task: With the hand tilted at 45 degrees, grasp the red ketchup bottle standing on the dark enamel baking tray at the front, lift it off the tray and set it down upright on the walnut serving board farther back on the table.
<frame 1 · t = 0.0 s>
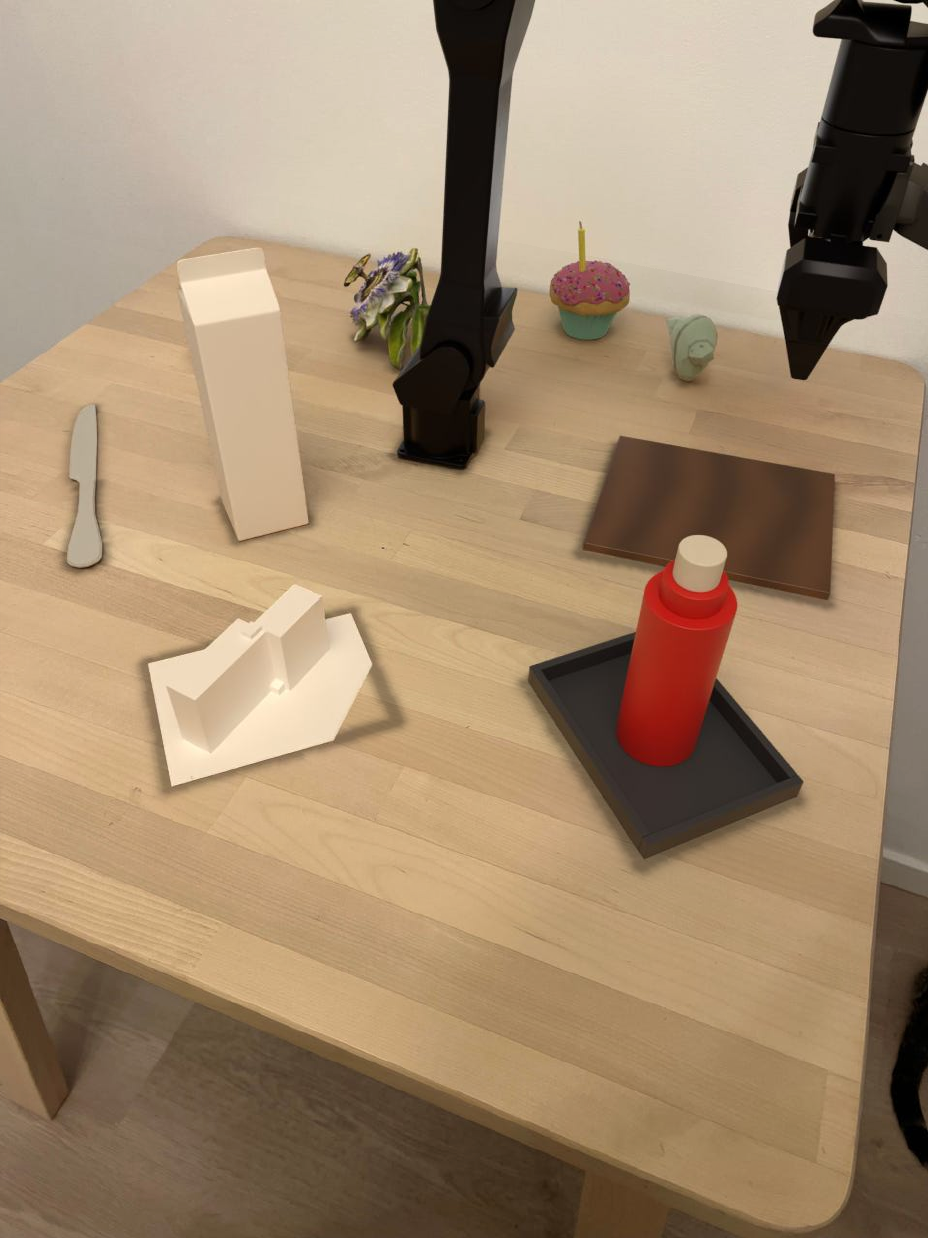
hand: (801, 348, 70), 15 cm above the table, tool pointing down, fingers open, 9 cm apart
serving board: (712, 517, 79), on the table
ketchup: (655, 735, 61), resting on baking tray
passion flower: (401, 343, 99), on the table
cupcake: (584, 330, 102), on the table
milk: (265, 514, 78), on the table
butter knife: (87, 481, 81), on the table
robot head: (686, 380, 95), on the table
baking tray: (654, 739, 62), on the table
white building model: (269, 694, 64), on the table
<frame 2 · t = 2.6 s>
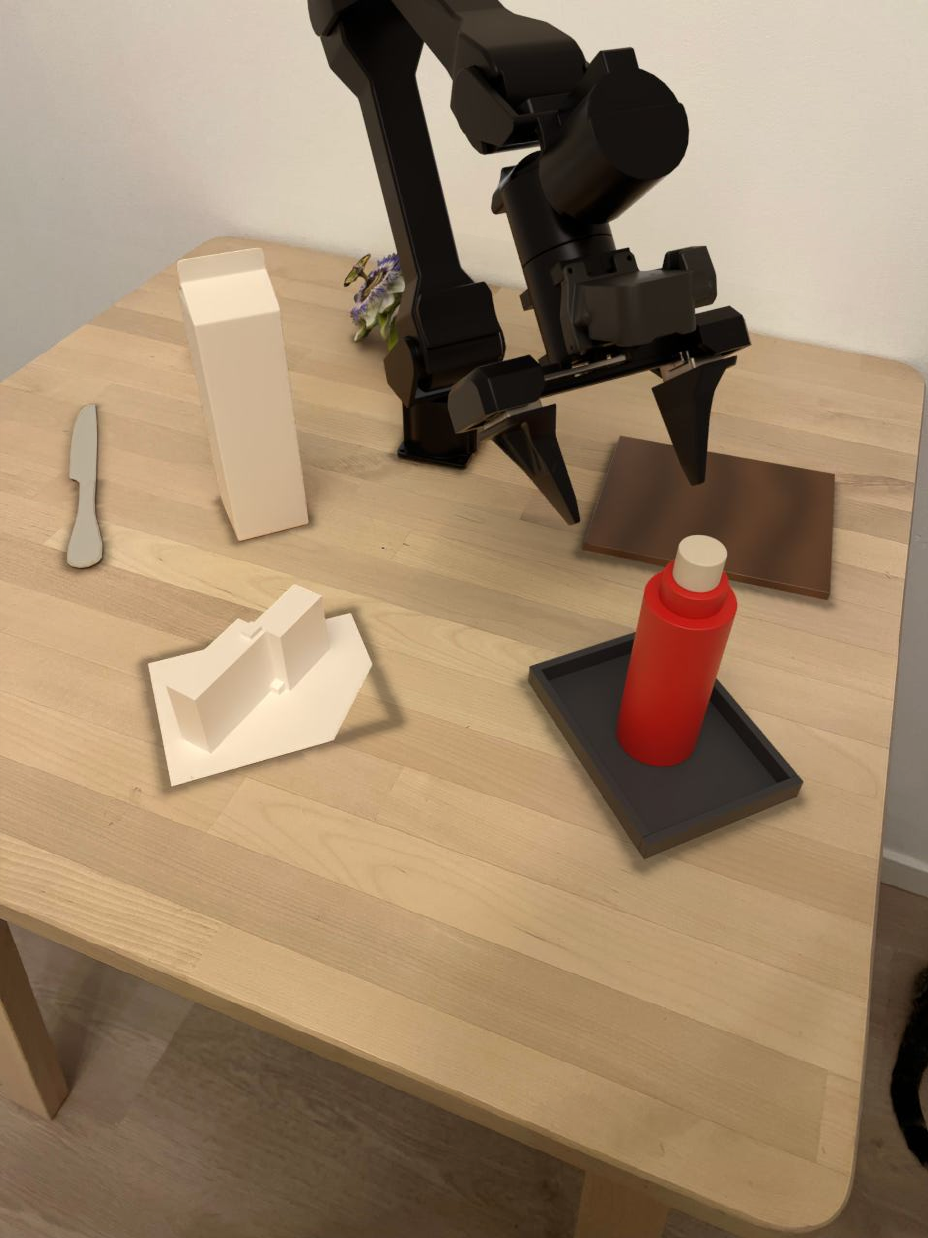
hand: (638, 503, 58), 13 cm above the table, tool tilted 40°, fingers open, 9 cm apart
nothing on the table moved.
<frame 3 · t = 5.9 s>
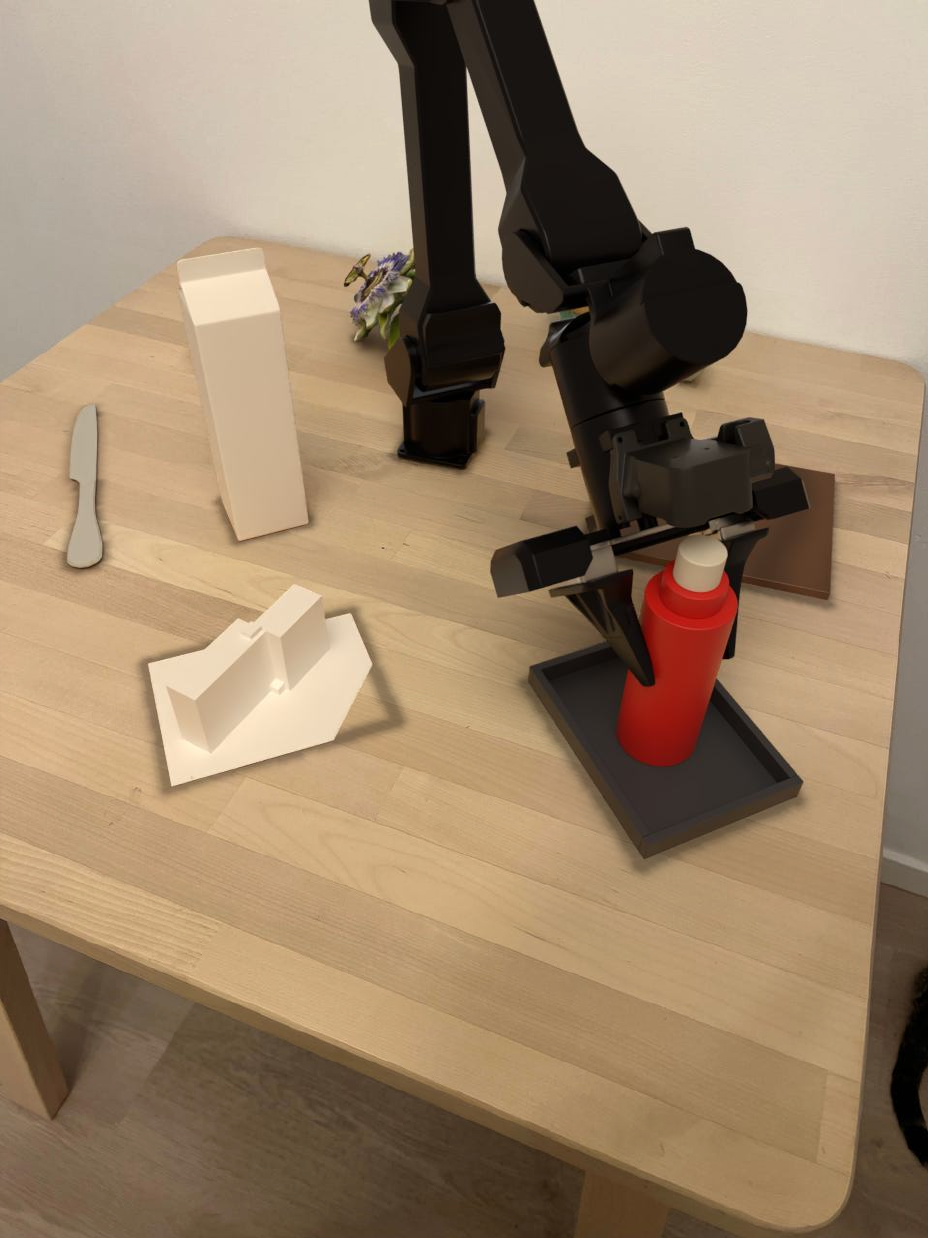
hand: (688, 672, 55), 8 cm above the table, tool tilted 45°, fingers closed on ketchup, 5 cm apart
ketchup: (655, 735, 61), point 1 cm above the table, touching baking tray, gripper
everything else where it was.
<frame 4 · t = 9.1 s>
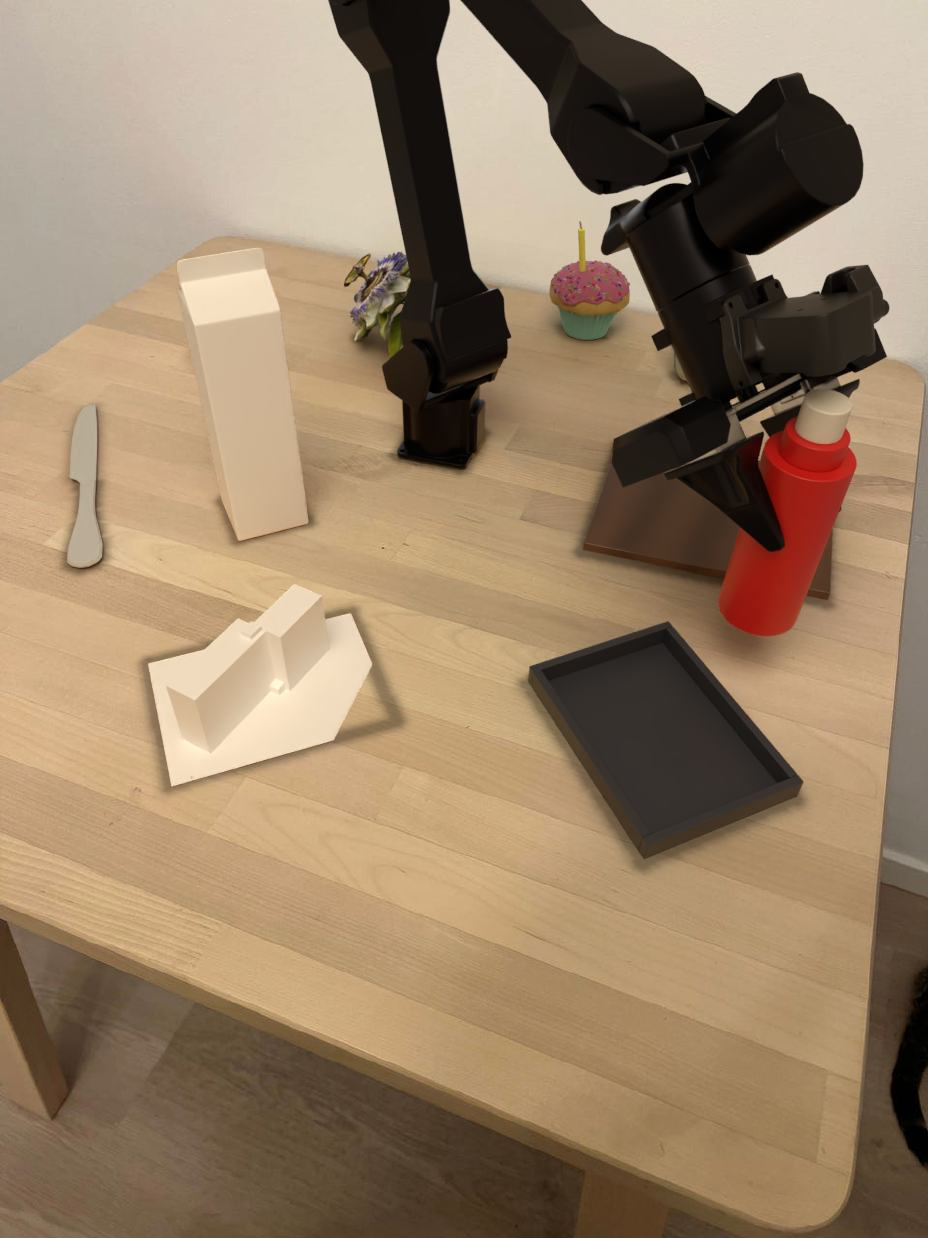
hand: (805, 531, 56), 13 cm above the table, tool tilted 45°, fingers closed on ketchup, 5 cm apart
ketchup: (757, 608, 62), point 6 cm above the table, touching gripper
everything else where it was.
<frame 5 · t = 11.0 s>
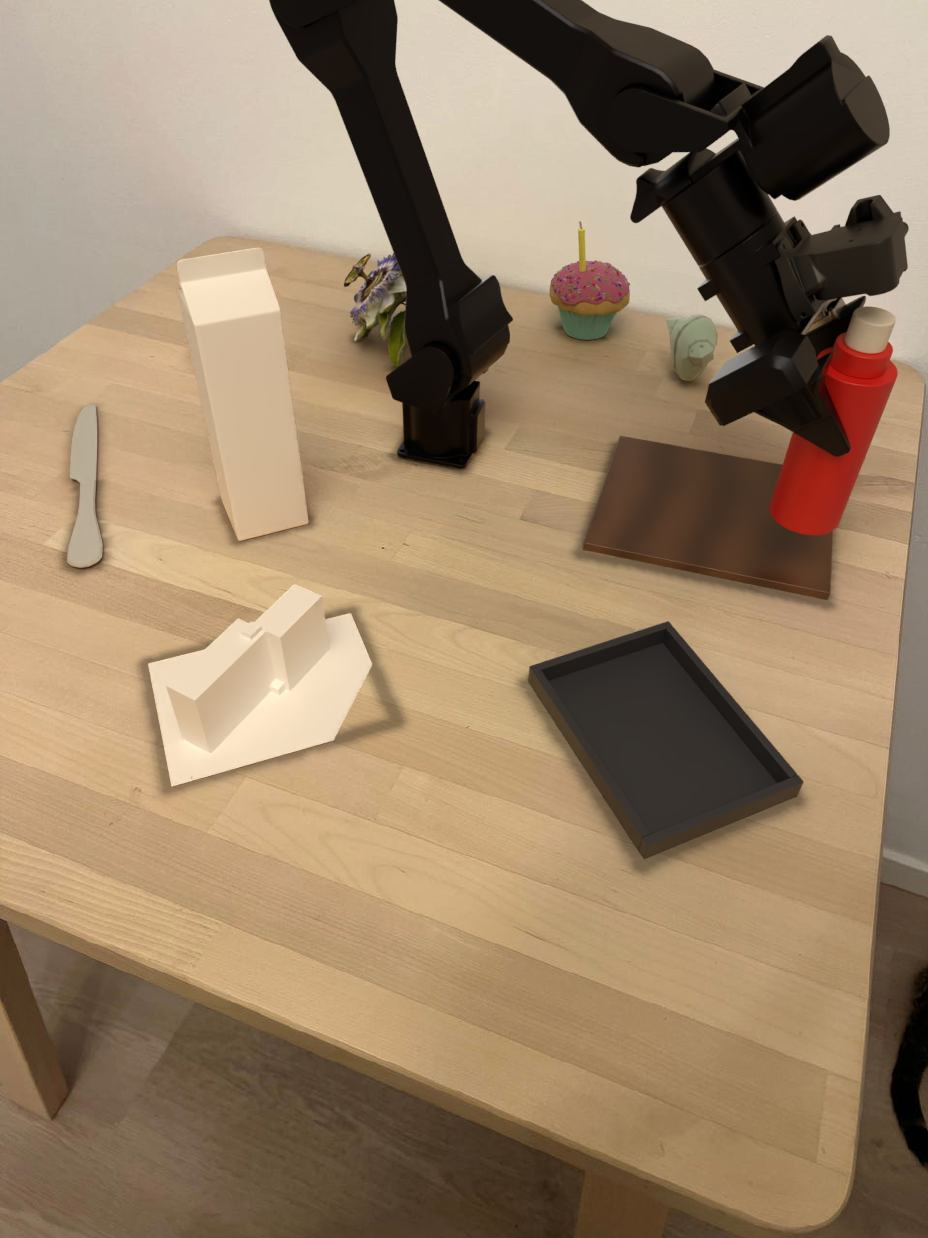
hand: (853, 434, 65), 13 cm above the table, tool tilted 45°, fingers closed on ketchup, 5 cm apart
ketchup: (804, 513, 70), point 5 cm above the table, touching gripper
everything else where it was.
when the fingers open (9 cm above the table, at t = 12.6 s): ketchup stays where it is, resting on serving board.
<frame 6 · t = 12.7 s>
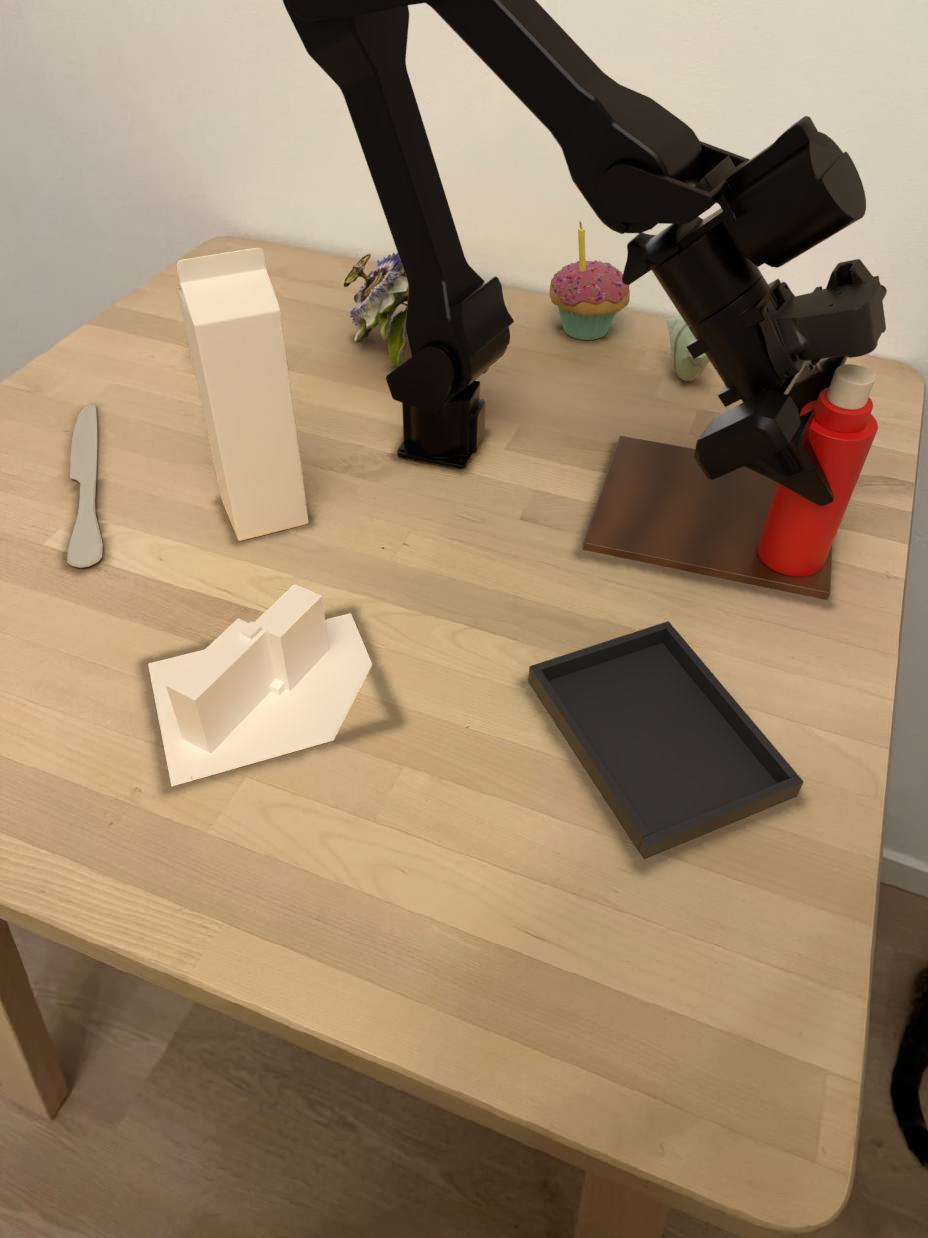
hand: (838, 482, 68), 9 cm above the table, tool tilted 45°, fingers open, 5 cm apart
ketchup: (790, 555, 73), point 1 cm above the table, touching serving board
everything else where it was.
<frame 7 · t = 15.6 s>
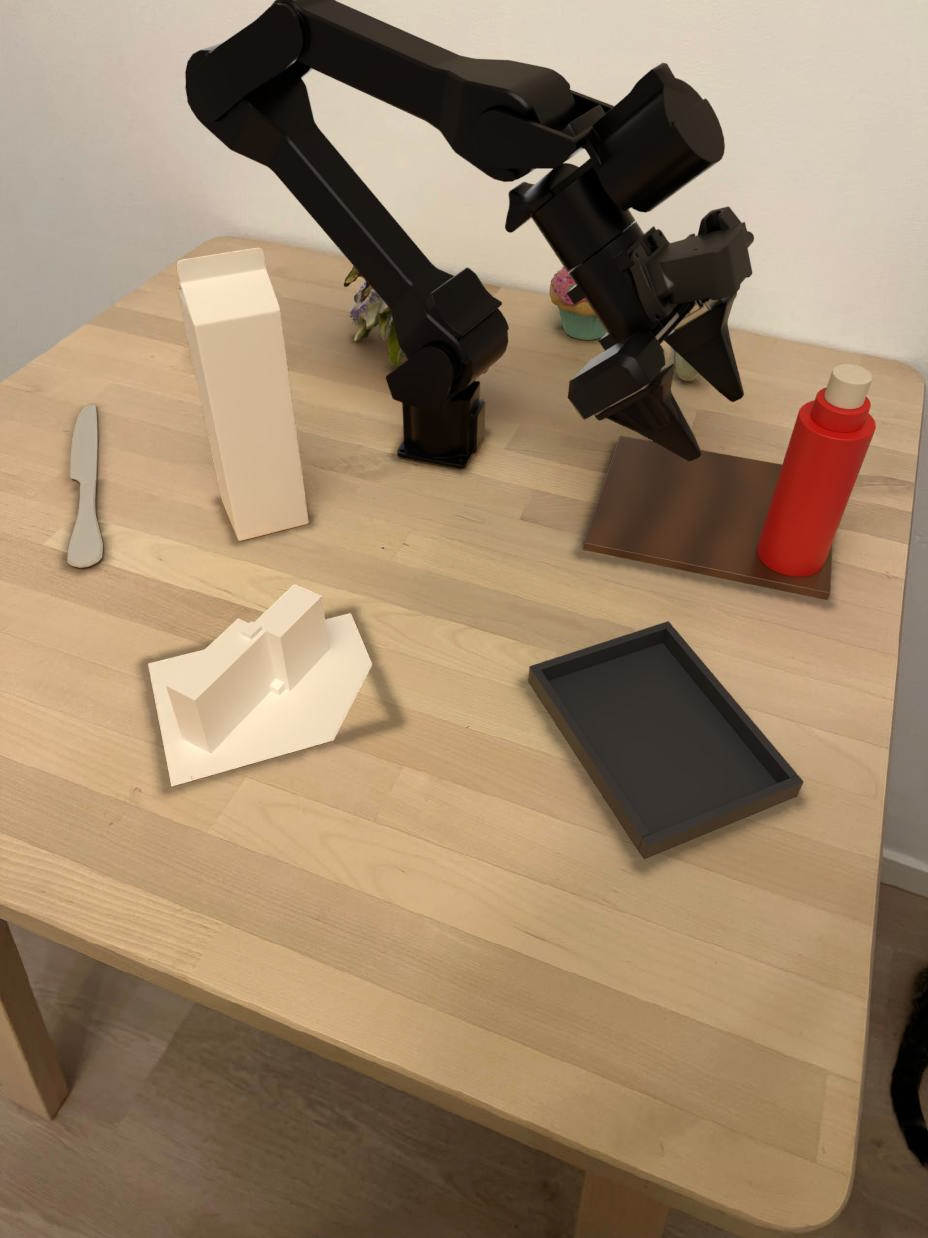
hand: (718, 427, 70), 10 cm above the table, tool tilted 45°, fingers open, 9 cm apart
nothing on the table moved.
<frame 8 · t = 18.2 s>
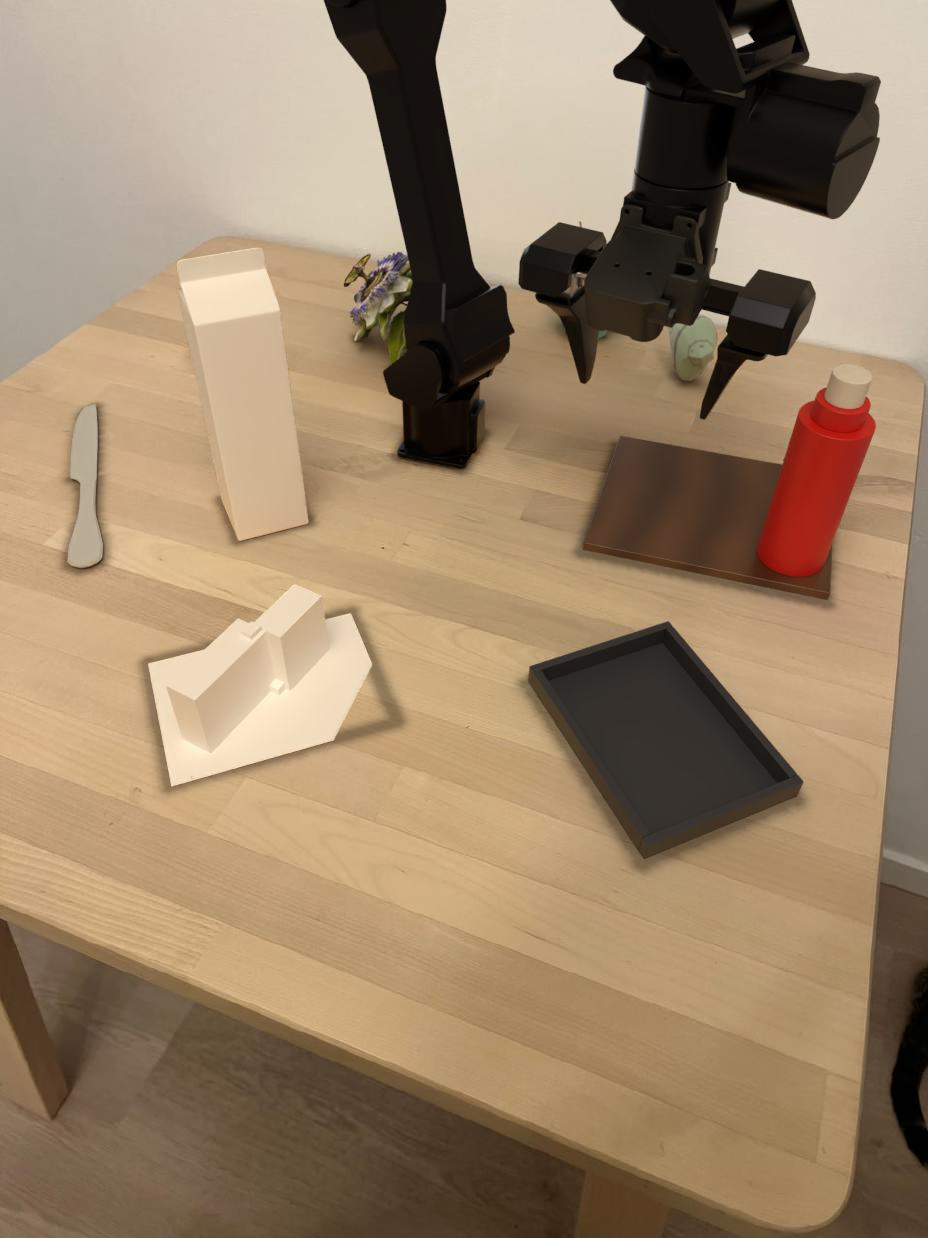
hand: (643, 398, 67), 13 cm above the table, tool pointing down, fingers open, 9 cm apart
nothing on the table moved.
at the end: ketchup inside the target area on the serving board (0.5 cm from its centre), point 1.2 cm above the serving board's base; ketchup tilted 0°; ketchup touching serving board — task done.
